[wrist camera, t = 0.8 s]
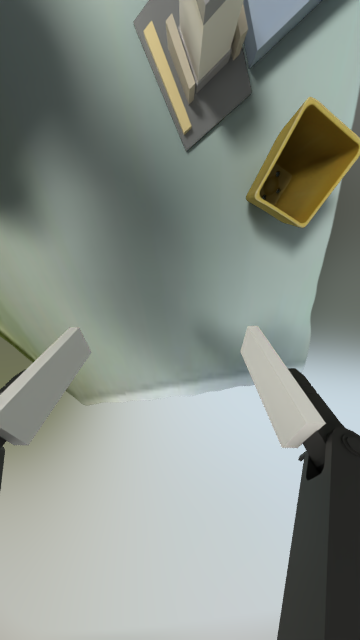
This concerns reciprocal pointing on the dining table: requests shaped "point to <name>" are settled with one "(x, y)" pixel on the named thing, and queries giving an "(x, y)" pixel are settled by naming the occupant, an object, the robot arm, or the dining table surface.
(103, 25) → the dining table surface
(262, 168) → the flower pot
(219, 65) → the block
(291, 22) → the tray
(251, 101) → the dining table surface
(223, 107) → the block
